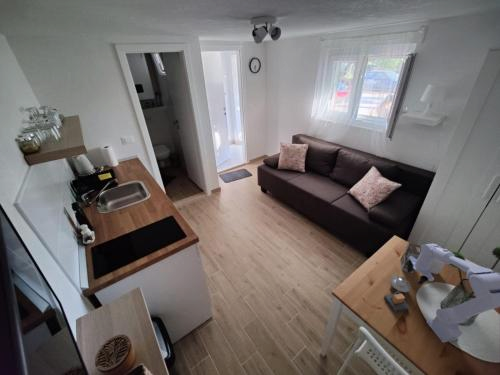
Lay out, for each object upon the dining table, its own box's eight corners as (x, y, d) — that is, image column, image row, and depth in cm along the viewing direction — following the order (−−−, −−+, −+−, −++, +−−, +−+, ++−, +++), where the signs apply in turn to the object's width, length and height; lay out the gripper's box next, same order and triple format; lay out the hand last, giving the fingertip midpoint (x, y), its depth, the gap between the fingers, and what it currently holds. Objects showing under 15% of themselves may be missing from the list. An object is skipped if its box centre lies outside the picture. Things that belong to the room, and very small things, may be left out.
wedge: (400, 304, 115) (405, 297, 112) (393, 306, 115) (397, 299, 111) (397, 300, 117) (401, 293, 114) (390, 302, 117) (394, 295, 113)
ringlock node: (423, 306, 114) (428, 299, 110) (394, 312, 113) (398, 305, 109) (399, 278, 128) (403, 271, 125) (373, 283, 127) (376, 276, 123)
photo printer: (437, 270, 132) (446, 257, 125) (438, 275, 128) (447, 262, 122) (417, 263, 136) (425, 250, 129) (418, 269, 133) (425, 256, 126)
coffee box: (413, 273, 130) (423, 256, 122) (401, 270, 133) (410, 253, 124) (411, 262, 137) (421, 245, 128) (399, 259, 140) (408, 242, 131)
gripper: (406, 252, 117) (398, 267, 124) (429, 274, 105) (418, 290, 112) (418, 249, 117) (409, 265, 125) (441, 272, 105) (430, 288, 113)
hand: (414, 277), depth 118 cm, fingers open, 7 cm apart
